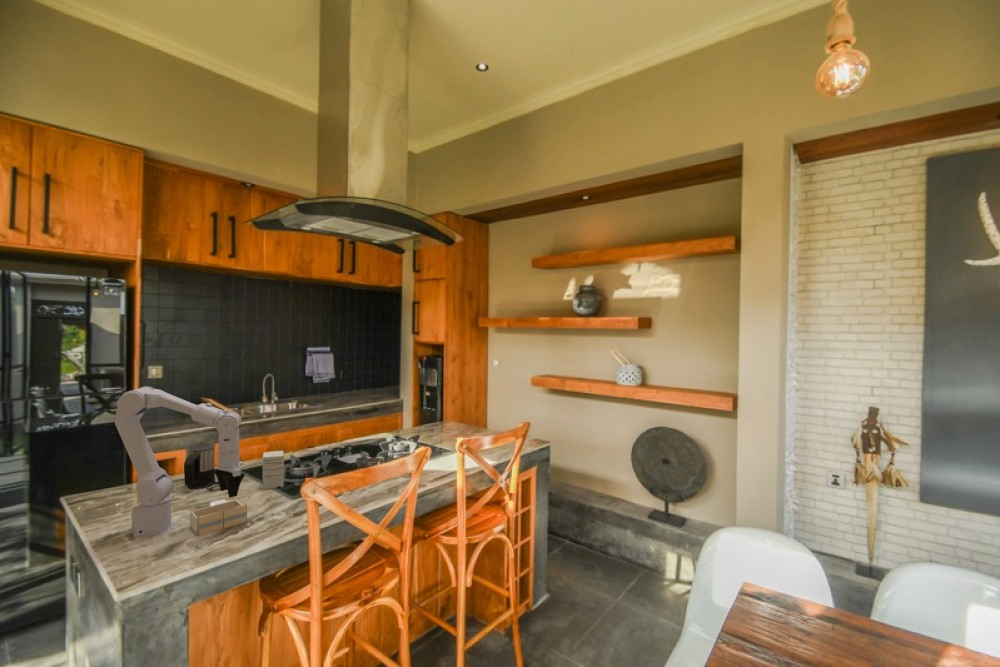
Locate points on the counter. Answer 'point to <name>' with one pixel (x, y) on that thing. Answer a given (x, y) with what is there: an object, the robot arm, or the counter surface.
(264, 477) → the supplement box
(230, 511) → the flap right
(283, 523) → the counter surface
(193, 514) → the carton
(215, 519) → the flap left
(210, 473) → the milk frother
